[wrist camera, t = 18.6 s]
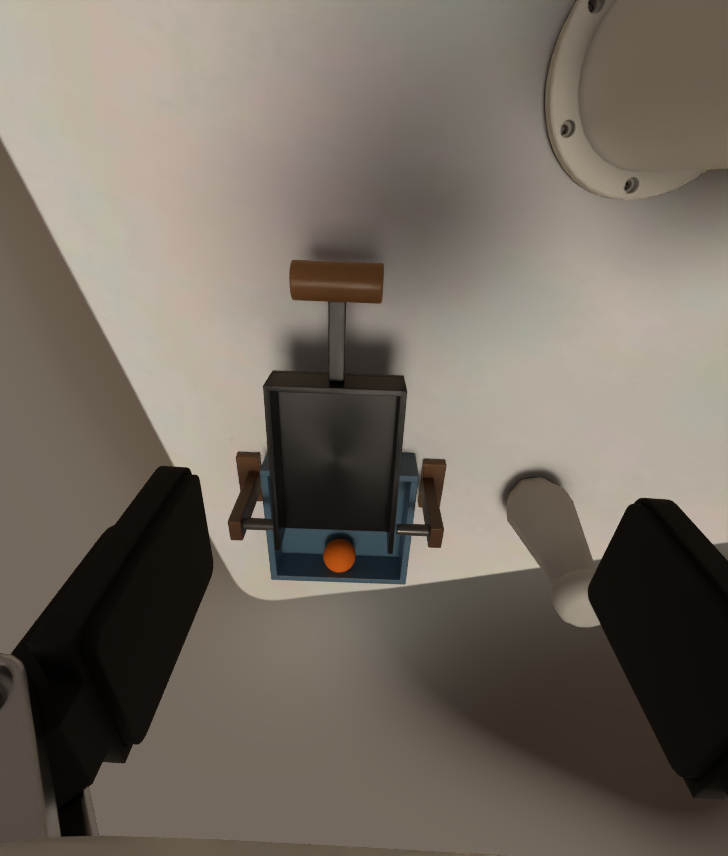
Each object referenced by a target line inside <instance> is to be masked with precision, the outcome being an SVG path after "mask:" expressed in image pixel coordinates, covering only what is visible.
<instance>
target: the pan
mask: <svg viewBox="0 0 728 856" xmlns="http://www.w3.org/2000/svg"><path fill="white" fill-rule="evenodd" d="M383 277H384V265H383V264H382V263H360V262H335V261H310V260H292V261H291V265H290V293H291V297H292V299H293V300H303V301H328V302H329V373H325V372H299V371H272V373H271V374H270V376H269V377H268V379H267V380H266V382H265V384H264V385H263V391H264V405H265V419H266V433H267V447H268V461H269V475H270V489H271V503H272V517H273V531H274V545H275V550H280V548H281V544H282V541H283V537H284V533H285V530H286V528H296V529H323V530H350V531H377V532H387V550H388V554H393V548H394V537H395V525H396V513H397V502H398V490H399V479H400V467H401V456H402V444H403V432H404V421H405V409H406V398H407V389H406V384H405V380H404V376H402V375H376V374H350V373H345V337H346V302H353V303H378V304H380V303H382V295H383Z"/></svg>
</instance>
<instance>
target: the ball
mask: <svg viewBox="0 0 728 856" xmlns="http://www.w3.org/2000/svg"><path fill="white" fill-rule="evenodd" d="M355 558H356V553H355V549H354V547H353V545H352V544H351V543H350V542H349V541H347V540H345V539H334V540H332V541H331V542H329V543H328V544H327V546H326V547H325V549H324V553H323V559H324V562H325V564H326V566H327V567H328V568H329V569H330V570H332V571H334V572H345V571H347V570H348V569H350V568H351V567H352V565H353V564H354V562H355Z"/></svg>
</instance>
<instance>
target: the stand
mask: <svg viewBox="0 0 728 856" xmlns="http://www.w3.org/2000/svg"><path fill="white" fill-rule="evenodd" d="M236 462H237V469H238V476H239V484H240V494H239V496H238V498H237V501H236V503H235V506H234V508H233V510H232V513H231V515H230V517H229V520H228V526H229V532H230V538H231V540H243V538H244V535H245V533H246V530H247V529H248V530H273V519H261V518H251V516H252V513H253V510H254V507H255V505H256V502H257V501H263V496H262V487H261V477H260V469H261V459H260V453H241V452H238V454H237V456H236ZM445 471H446V462H445V460H425V459H424V460H423V466H422V474H421V482H420V490H419V498H418V505H419V507H422V509H423V515H424V522H425V525H423V524H396V535H410V536H427V541H428V547H431V548H441V543H442V538H443V532H444V528H443V523H442V518H441V513H440V508H439V507H440V502H441V495H442V489H443V483H444V477H445Z"/></svg>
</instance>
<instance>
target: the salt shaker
mask: <svg viewBox="0 0 728 856" xmlns="http://www.w3.org/2000/svg"><path fill="white" fill-rule="evenodd" d="M506 509H507V520H508V522H509V523H510V525H511V526H512V528H513V529H514V530H515V532H516V533H517V535H518V536H519V537H520V539H521V540H522V542H523V543H524V545H525V546H526V547H527V549H528V550H529V552H530V553H531V554H532V556H533V557H534V559H535V560H536V562H537V563H538V564H539V566H540V567H541V568H542V570H543V571H544V573H545V574H546V576H547V577H548V579H549V580H550V581H551V583H552V584H553V586H552V587H551V600H552V602H553V605H554V608H555V609H556V611H557V612H558V614H559V615H560V616H561V618H562V619H563V620H564V621H565V622H567V623H570V624H573V625H575V626H578V627H593V626H597V625H601V624H600V622H599V620H598V618H597V616H596V614H595V612H594V610H593V608H592V606H591V604H590V602H589V599H588V586H589V584H590V582H591V580H592V577H593V575H594V573H595V571H596V568H595V565H594V562H593V559H592V556H591V553H590V550H589V547H588V544H587V541H586V538H585V536H584V533H583V530H582V527H581V524H580V521H579V518H578V515H577V512H576V509H575V506H574V503H573V501H572V499H571V498H570V496H569V494H568V493H567V492H566V491H565V489H564V488H562V487H559V486H557V485H555V484H553V483H551V482H550V481H548V480H546V479H544V478H542V477H536V478H529V479H522V480H520V482H519V483H518V484H517V485H516V486H515V487H514V488H513V489H512V491H511V492H510V493H509V496H508V501H507V505H506Z"/></svg>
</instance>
